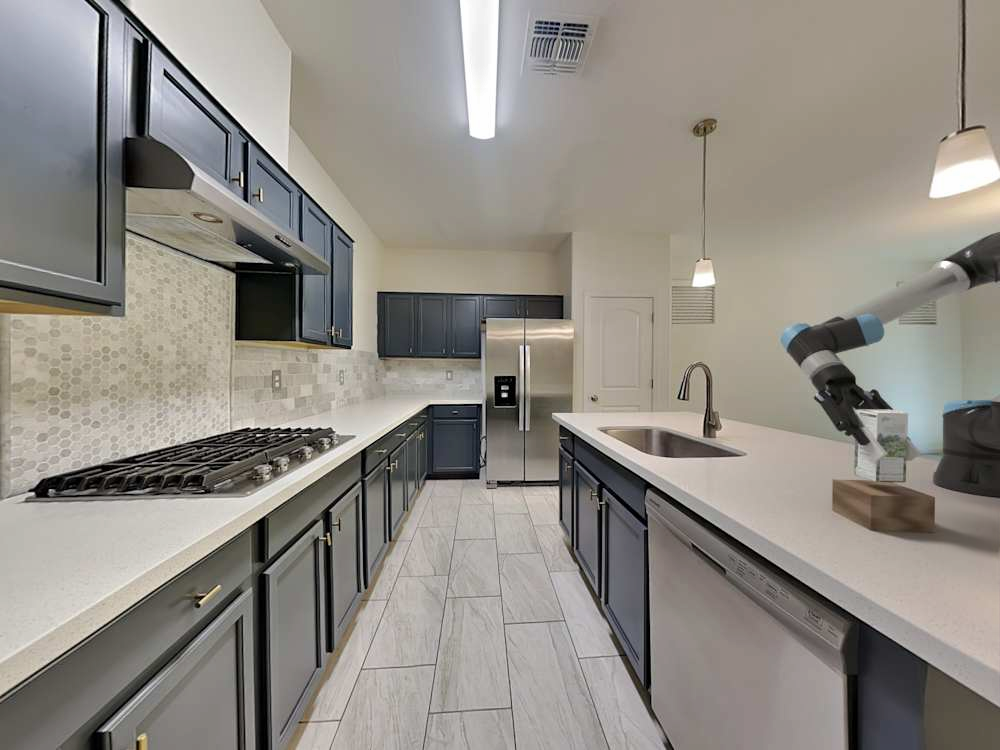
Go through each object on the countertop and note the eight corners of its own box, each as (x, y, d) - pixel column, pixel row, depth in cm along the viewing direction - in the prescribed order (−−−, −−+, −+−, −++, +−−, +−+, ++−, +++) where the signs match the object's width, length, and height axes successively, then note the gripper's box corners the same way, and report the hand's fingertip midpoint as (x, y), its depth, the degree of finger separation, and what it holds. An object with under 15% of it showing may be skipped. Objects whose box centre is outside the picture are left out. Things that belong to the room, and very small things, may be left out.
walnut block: (887, 512, 88) (887, 480, 87) (934, 533, 77) (934, 497, 76) (832, 510, 89) (832, 479, 89) (870, 530, 78) (871, 495, 78)
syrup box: (882, 475, 85) (883, 408, 85) (907, 483, 80) (908, 411, 79) (853, 475, 86) (854, 408, 86) (876, 483, 80) (877, 411, 80)
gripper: (856, 384, 98) (929, 466, 82) (780, 384, 97) (839, 468, 81) (877, 362, 93) (960, 446, 77) (798, 363, 92) (864, 447, 76)
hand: (897, 457), depth 79 cm, fingers closed on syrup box, 6 cm apart
